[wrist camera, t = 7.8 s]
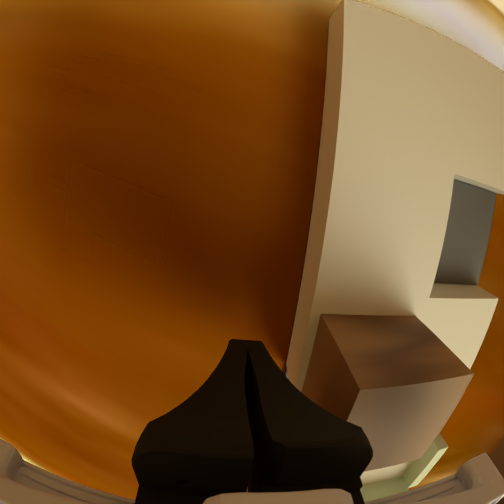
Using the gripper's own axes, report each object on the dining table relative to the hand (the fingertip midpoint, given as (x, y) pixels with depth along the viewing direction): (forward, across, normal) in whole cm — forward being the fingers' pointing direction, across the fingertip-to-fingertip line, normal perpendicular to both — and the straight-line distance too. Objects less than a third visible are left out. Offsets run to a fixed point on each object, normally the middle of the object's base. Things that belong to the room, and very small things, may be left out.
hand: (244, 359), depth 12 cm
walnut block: (+1, -6, 0) cm, 6 cm away
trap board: (+3, -9, -1) cm, 9 cm away
